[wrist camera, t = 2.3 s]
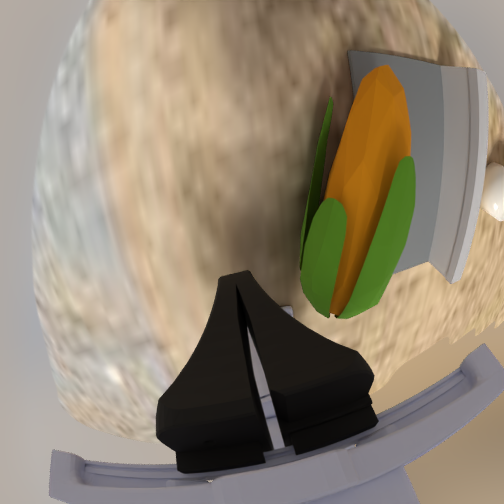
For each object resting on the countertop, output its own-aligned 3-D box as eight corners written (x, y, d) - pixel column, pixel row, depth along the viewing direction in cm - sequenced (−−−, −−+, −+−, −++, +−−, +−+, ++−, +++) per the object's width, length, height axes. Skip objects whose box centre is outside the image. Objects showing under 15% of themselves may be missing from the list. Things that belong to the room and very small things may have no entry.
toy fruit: (305, 354, 19) (365, 36, 8) (279, 289, 25) (305, 53, 14) (385, 336, 20) (461, 83, 10) (348, 282, 26) (389, 76, 16)
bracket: (434, 256, 28) (460, 279, 23) (354, 284, 27) (377, 316, 22) (447, 68, 16) (485, 72, 11) (347, 51, 15) (387, 43, 11)
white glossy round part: (495, 206, 26) (512, 216, 23) (473, 213, 26) (491, 225, 23) (502, 161, 22) (520, 169, 20) (480, 162, 22) (501, 172, 19)
